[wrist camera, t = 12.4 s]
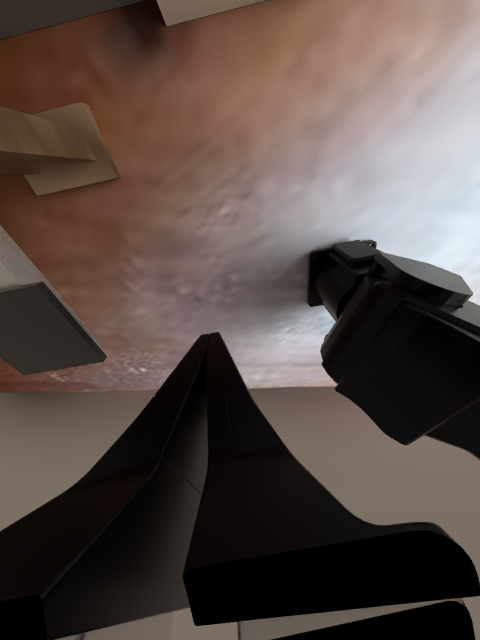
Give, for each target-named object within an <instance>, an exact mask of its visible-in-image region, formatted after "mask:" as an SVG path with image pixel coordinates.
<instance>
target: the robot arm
mask: <svg viewBox="0 0 480 640" xmlns="http://www.w3.org/2000/svg"><path fill="white" fill-rule="evenodd" d="M370 244H372V245H371V246H369V245H370ZM376 245H377V243H376V242H375V241H373V240H368V241H363V242H361V241H359V240H355V241H350V242H345V243H340V244H334V245H332V246H331V248H326V249H321V250H316V251H312V252H311V253H310V254H309V266H308V294H307V303H308V305H309V306H310V307H314V306H319V305H324V306H325V308H326V309H327V310H328V312H329V313H330V314H331V316H332V317H333V318H334V320H335V321H336V323H335V324H334V326H333V327H332V329H331V331H330V332H329V334H327V335H326V336H325V338H324V342H323V344H322V346H321V350H320V351H321V356H322V359H323V361H322V366H323V368H324V369H325V371H326V372H327V374H328V375H329V376H330V377H331V378H332V379H333V380H334V381H335V382H336V383H337V384H338V385H337V386H336V387H335V390H336V391H337V392H339V393H340V394H342V395H344V396H345V397H347V398H349V399H350V400H351V401H352V402H354V403H355V404H356V405H357V406H359V407H360V408H361V409H362V410H363V411H364V412H365V413H366V414H367V415H368V416H369V417H370V418H371V419H372V420H373V421H374V422H375V424H376V425H377V426H378V427H379V428H380V429H381V430H382V431H383V432H384V433H385V434H386V435H388V436H389V437H391V438H393V439H394V440H396V441H398V442H399V443H401V444H403V445H409V444H411V443H412V442H414V441H415V440H417V439H419V438H420V437H422V436H427V437H430V438H433V439H435V440H438V441H441V442H444V443H447V444H449V445H452V446H455V447H458V448H461V449H463V450H465V451H467V452H469V453H470V454H472V455H473V456H475V457H476V458H477V459H479V460H480V306H479V305H477V304H475V303H473V302H470V301H468V299H469V298H470V297H471V296H472V295H473V292H472V291H471V289H470V288H469V287H468V285H467V284H466V282H465V281H464V280H463V278H462V277H461V276H459V275H457V274H454V273H452V272H449V271H447V270H444V269H442V268H439V267H436V266H434V265H431V264H428V263H424V262H420V261H416V260H412V259H408V258H403V257H399V256H395V255H391V254H387V253H383V252H381V251H379V250H377V249H376ZM314 255H316V257H315V258H313V256H314ZM312 301H313V303H311V302H312ZM474 596H480V583H479V578H478V575H477V572H476V569H475V566H474V564H473V562H472V560H471V559H470V557H469V556H468V554H467V553H466V552H465V551H464V550H463V548H462V547H461V546H460V545H458V543H457V542H455V541H454V540H453V539H452V538H451V537H450V536H449V535H448V534H447V533H446V532H445V531H444V530H443V529H442V528H441V527H440V526H438V525H436V524H435V523H430V522H410V523H400V524H392V525H375V524H372V523H368V522H365V521H363V520H362V519H360V518H358V517H356V516H355V515H353V514H352V513H351V512H349V511H348V510H347V509H346V508H345V507H344V506H343V505H342V504H341V503H340V502H339V501H338V500H337V499H336V498H335V497H334V496H333V495H332V494H331V493H330V492H329V491H328V490H327V489H326V488H325V487H324V486H323V485H322V484H321V483H320V482H319V481H318V480H317V479H316V478H315V477H314V476H313V475H312V474H311V473H310V472H309V471H308V470H307V469H306V468H305V467H304V466H303V465H302V464H301V463H300V462H299V461H298V460H297V459H296V458H295V457H294V456H293V454H292V453H291V452H290V451H289V450H288V448H287V447H286V446H285V444H284V443H283V442H282V440H281V439H280V437H279V436H278V435H277V433H276V432H275V431H274V429H273V428H272V426H271V425H270V423H269V422H268V421H267V419H266V418H265V416H264V415H263V413H262V412H261V411H260V409H259V408H258V406H257V404H256V403H255V402H254V400H253V398H252V396H251V395H250V393H249V391H248V389H247V387H246V385H245V383H244V381H243V379H242V377H241V375H240V373H239V371H238V369H237V367H236V365H235V363H234V361H233V359H232V357H231V355H230V353H229V351H228V349H227V347H226V345H225V343H224V341H223V339H222V337H221V335H220V333H219V332H215V333H211V334H204V335H201V336H200V337H199V338H198V339H197V341H196V342H195V343H194V345H193V346H192V347H191V348H190V350H189V351H188V352H187V354H186V355H185V356H184V358H183V359H182V360H181V361H180V363H179V364H178V365H177V367H176V368H175V369H174V371H173V372H172V373H171V374H170V376H169V377H168V378H167V380H166V381H165V382H164V384H163V385H162V386H161V387H160V389H159V390H158V391H157V393H156V394H155V397H153V398H152V399H151V400H150V402H149V403H148V404H147V406H146V407H145V408H144V409H143V411H142V412H141V413H140V414H139V416H138V417H137V418H136V419H135V420H134V422H133V423H132V424H131V425H130V426H129V427H128V428H127V430H126V431H125V432H124V433H123V434H122V435H121V436H120V437H119V438H118V440H117V441H116V442H115V443H114V444H113V445H112V446H111V447H110V449H109V450H108V451H107V452H106V453H105V454H104V455H103V456H102V457H101V459H100V460H99V461H98V462H97V463H96V464H95V465H94V466H93V467H92V469H91V470H90V471H89V472H88V473H87V474H86V475H85V476H84V477H83V478H81V479H80V480H79V481H78V482H77V483H76V484H74V485H73V486H72V487H70V488H69V489H68V490H66V491H65V492H63V493H62V494H60V495H59V496H57V497H55V498H54V499H52V500H51V501H49V502H47V503H46V504H44V505H42V506H41V507H39V508H37V509H36V510H34V511H32V512H31V513H29V514H28V515H26V516H25V517H23V518H21V519H19V520H18V521H16V522H15V523H13V524H11V525H10V526H8V527H6V528H5V529H3V530H1V531H0V640H171V635H172V626H173V618H174V611H178V610H182V609H186V608H191V613H192V617H193V621H194V624H195V625H196V626H202V625H211V624H220V623H230V622H237V624H238V625H237V626H238V640H475V635H474V629H473V623H472V619H471V616H470V613H469V611H468V609H467V607H466V606H465V604H464V602H463V600H462V598H464V597H474Z"/></svg>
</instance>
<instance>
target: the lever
mask: <svg viewBox="0 0 480 640" xmlns="http://www.w3.org/2000/svg"><path fill="white" fill-rule="evenodd" d="M100 346H101V345H100V343H99V342H98V341H97V340H96V339H95V337H94V336H93V335H92V334H91V333H90V331H89V330H88V329H87V328H86V327H85V325H84V324H83V323H82V322H81V321H80V319H79V318H78V317H77V316H76V315H75V313H74V312H73V311H72V310H71V309H70V307H69V306H68V305H67V304H66V303H65V302H64V300H63V299H62V298H61V297H60V296H59V294H58V293H57V292H56V291H55V290H54V288H53V287H52V286H51V285H50V284H49V282H48V281H47V280H46V279H45V278H44V276H43V275H42V274H41V273H40V272H39V270H38V269H37V268H36V267H35V266H34V264H33V263H32V262H31V261H30V260H29V259H28V257H27V256H26V255H25V254H24V253H23V251H22V250H21V249H20V248H19V247H18V245H17V244H16V243H15V242H14V241H13V239H12V238H11V237H10V236H9V235H8V233H7V232H6V231H5V230H4V229H3V227H2V226H1V225H0V358H1V359H3V360H4V361H6V362H7V363H8V364H10V365H11V366H12V367H14V368H15V369H16V370H18V371H19V372H20V373H22V374H23V375H29V374H35V373H41V372H46V371H52V370H58V369H64V368H69V367H75V366H81V365H87V364H93V363H98V362H104V360H105V359H106V357H107V356H106V355H105V354H104V352H103V351H102V350H101V349H100V348H99V347H100Z"/></svg>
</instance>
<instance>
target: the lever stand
mask: <svg viewBox="0 0 480 640" xmlns="http://www.w3.org/2000/svg"><path fill="white" fill-rule="evenodd" d="M0 175H23V176H24V177H25V179H26V180H27V181H28V183H29V184H30V186H31V187H32V189H33V190H34V192H35V193H36V195H37V196H39V195H46V194H51V193H55V192H60V191H64V190H69V189H73V188H78V187H82V186H86V185H91V184H95V183H100V182H104V181H109V180H113V179H118V178H120V176H119V174H118V171H117V169H116V167H115V164H114V162H113V160H112V158H111V155H110V153H109V151H108V148H107V146H106V144H105V142H104V139H103V137H102V135H101V132H100V130H99V128H98V126H97V123H96V121H95V119H94V116H93V114H92V112H91V110H90V107H89V105H87V104H85V103H83V102H79V103H75V104H71V105H67V106H63V107H59V108H55V109H51V110H47V111H43V112H39V113H35V114H31V115H30V114H26V113H23V112H20V111H16V110H13V109H10V108H6V107H3V106H0Z"/></svg>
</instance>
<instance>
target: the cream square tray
mask: <svg viewBox="0 0 480 640" xmlns="http://www.w3.org/2000/svg"><path fill="white" fill-rule="evenodd" d="M262 1H266V0H157V3H158V5H159V8H160V11H161V13H162V16H163V18H164V21H165V23H166V26H170V25H174V24H178V23H182V22H186V21H189V20H193V19H197V18H201V17H205V16H208V15H212V14H216V13H220V12H224V11H227V10H231V9H235V8H239V7H243V6H247V5H250V4H254V3H258V2H262Z"/></svg>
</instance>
